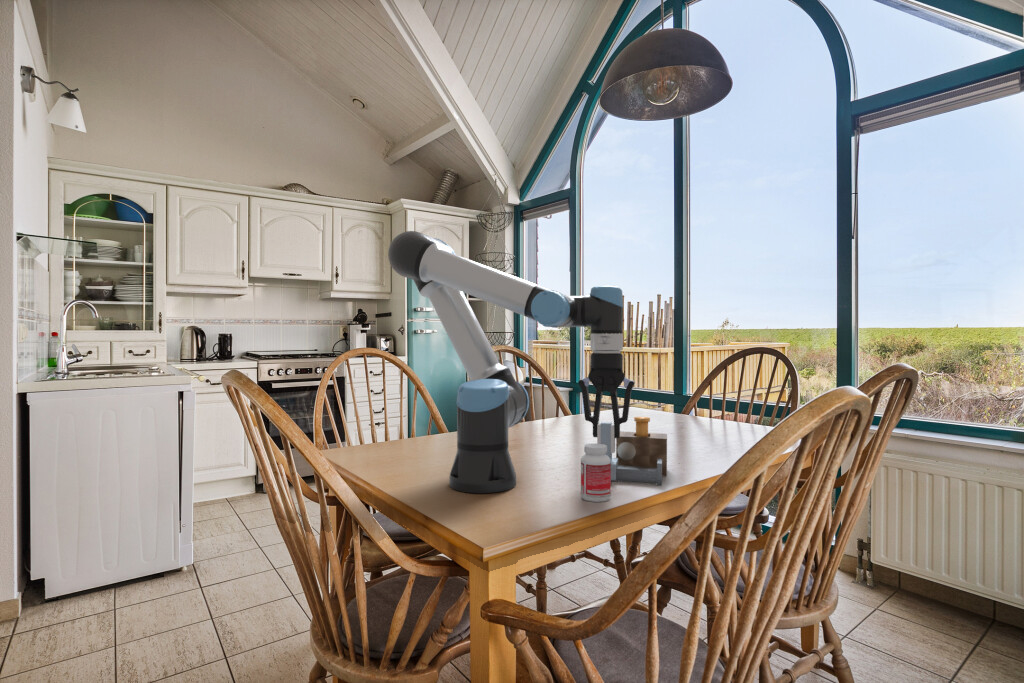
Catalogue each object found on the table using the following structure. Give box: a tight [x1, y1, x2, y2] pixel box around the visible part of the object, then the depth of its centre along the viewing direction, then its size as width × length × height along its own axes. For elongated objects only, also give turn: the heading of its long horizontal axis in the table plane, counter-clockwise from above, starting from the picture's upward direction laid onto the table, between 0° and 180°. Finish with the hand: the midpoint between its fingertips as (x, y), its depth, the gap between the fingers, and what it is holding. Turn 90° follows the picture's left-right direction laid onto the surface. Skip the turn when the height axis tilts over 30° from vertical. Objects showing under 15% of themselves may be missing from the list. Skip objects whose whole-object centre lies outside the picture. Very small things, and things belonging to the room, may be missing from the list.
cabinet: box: [615, 430, 668, 477], centre depth 135 cm, size 12×7×9 cm, turn 73°
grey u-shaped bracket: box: [611, 459, 663, 487], centre depth 126 cm, size 17×5×5 cm, turn 73°
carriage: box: [600, 421, 618, 480], centre depth 127 cm, size 5×7×13 cm
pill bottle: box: [580, 443, 612, 503], centre depth 112 cm, size 6×6×11 cm
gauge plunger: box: [633, 416, 651, 437], centre depth 135 cm, size 4×4×7 cm
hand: (606, 451), depth 127 cm, fingers closed on carriage, 2 cm apart
